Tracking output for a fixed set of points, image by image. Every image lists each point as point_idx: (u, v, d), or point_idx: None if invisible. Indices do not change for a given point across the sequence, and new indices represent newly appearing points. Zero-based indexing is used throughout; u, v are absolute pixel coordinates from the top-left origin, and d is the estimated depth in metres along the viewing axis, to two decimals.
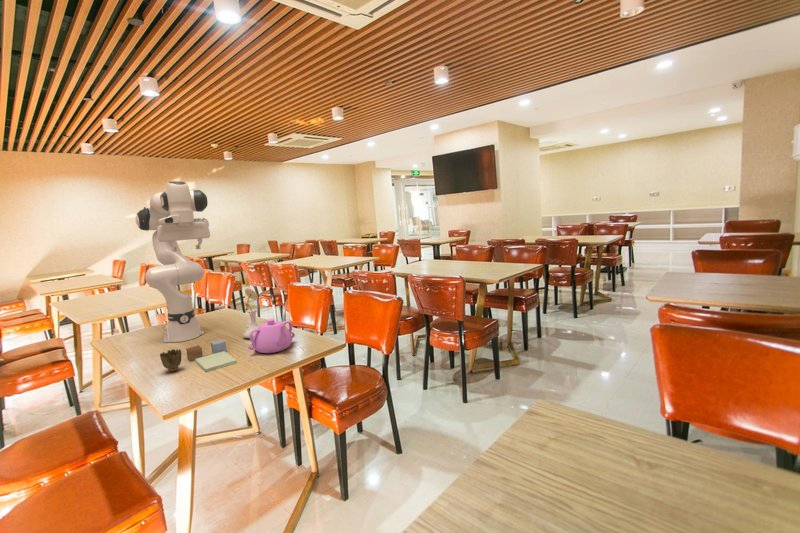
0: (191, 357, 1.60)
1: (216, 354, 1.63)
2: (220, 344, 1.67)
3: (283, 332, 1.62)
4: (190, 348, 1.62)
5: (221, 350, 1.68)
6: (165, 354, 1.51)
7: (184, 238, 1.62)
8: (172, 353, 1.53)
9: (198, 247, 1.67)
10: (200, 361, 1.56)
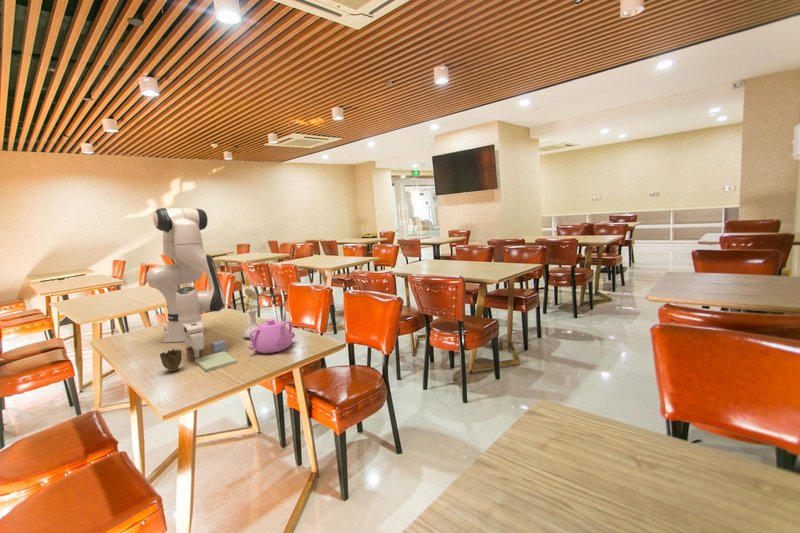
0: (191, 357, 1.60)
1: (216, 354, 1.63)
2: (220, 344, 1.67)
3: (283, 332, 1.62)
4: (190, 348, 1.62)
5: (221, 350, 1.68)
6: (165, 354, 1.51)
7: None
8: (172, 353, 1.53)
9: None
10: (200, 361, 1.56)
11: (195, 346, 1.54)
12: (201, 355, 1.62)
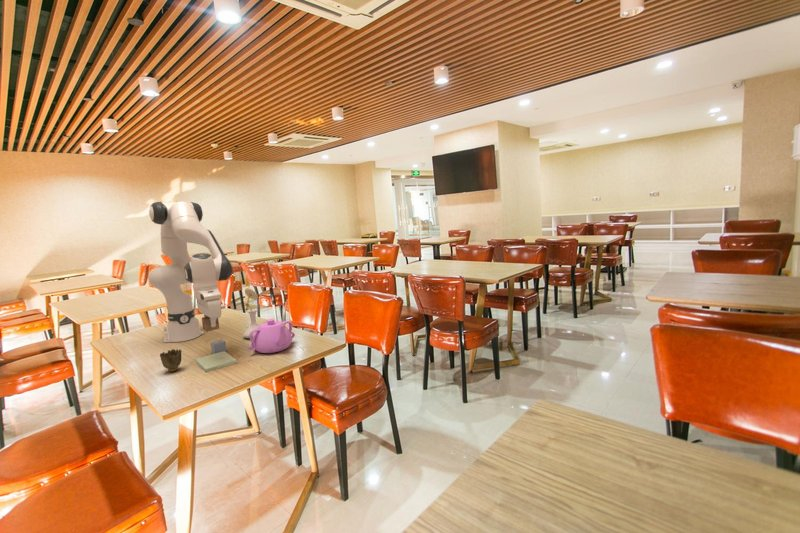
0: (207, 326, 1.52)
1: (216, 354, 1.63)
2: (220, 344, 1.67)
3: (283, 332, 1.62)
4: (206, 317, 1.54)
5: (221, 350, 1.68)
6: (165, 354, 1.51)
7: None
8: (172, 353, 1.53)
9: None
10: (200, 361, 1.56)
11: (212, 314, 1.46)
12: (217, 325, 1.55)
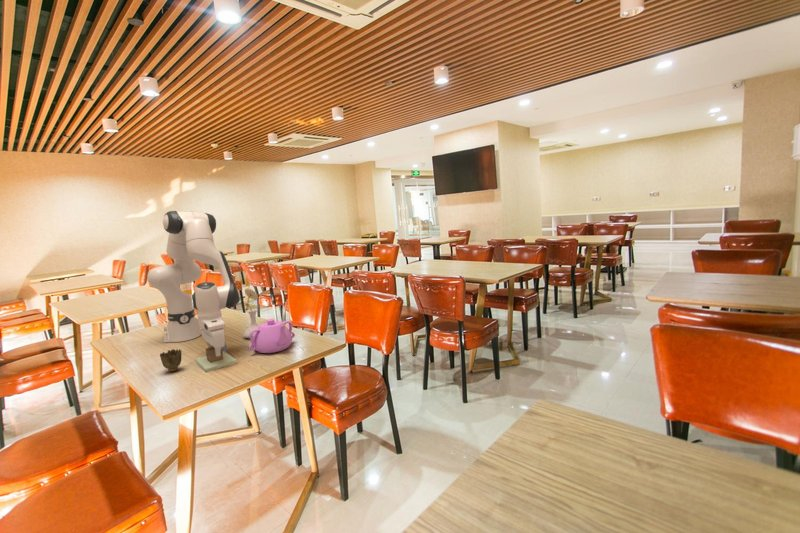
0: (211, 358, 1.54)
1: None
2: None
3: (283, 332, 1.62)
4: (210, 348, 1.56)
5: None
6: (165, 354, 1.51)
7: None
8: (172, 353, 1.53)
9: None
10: (200, 361, 1.56)
11: (216, 344, 1.48)
12: (221, 356, 1.57)
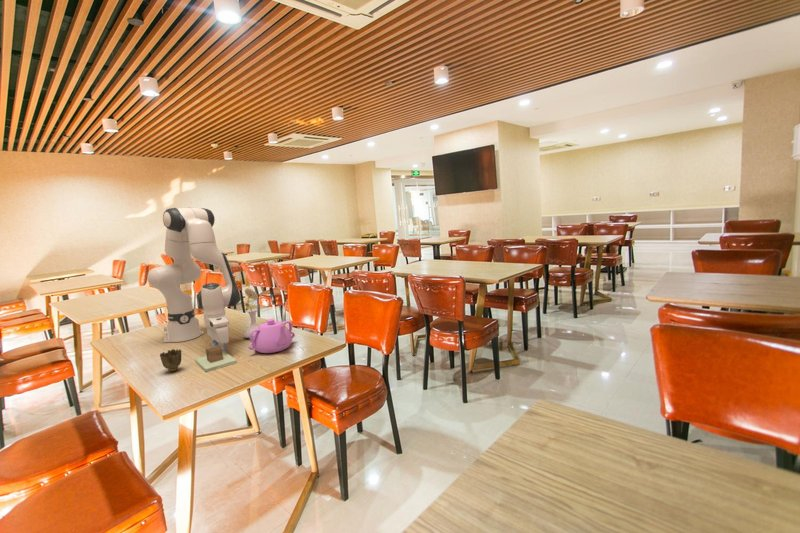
0: (211, 358, 1.54)
1: None
2: None
3: (283, 332, 1.62)
4: (210, 348, 1.56)
5: None
6: (165, 354, 1.51)
7: None
8: (172, 353, 1.53)
9: None
10: (200, 361, 1.56)
11: (220, 340, 1.60)
12: (221, 356, 1.57)
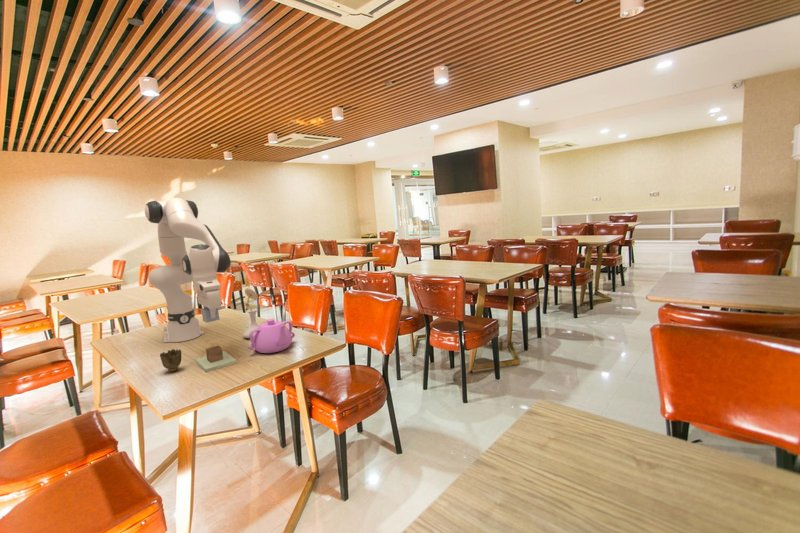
0: (211, 358, 1.54)
1: None
2: None
3: (283, 332, 1.62)
4: (210, 348, 1.56)
5: None
6: (165, 354, 1.51)
7: None
8: (172, 353, 1.53)
9: None
10: (200, 361, 1.56)
11: (212, 304, 1.46)
12: (221, 356, 1.57)
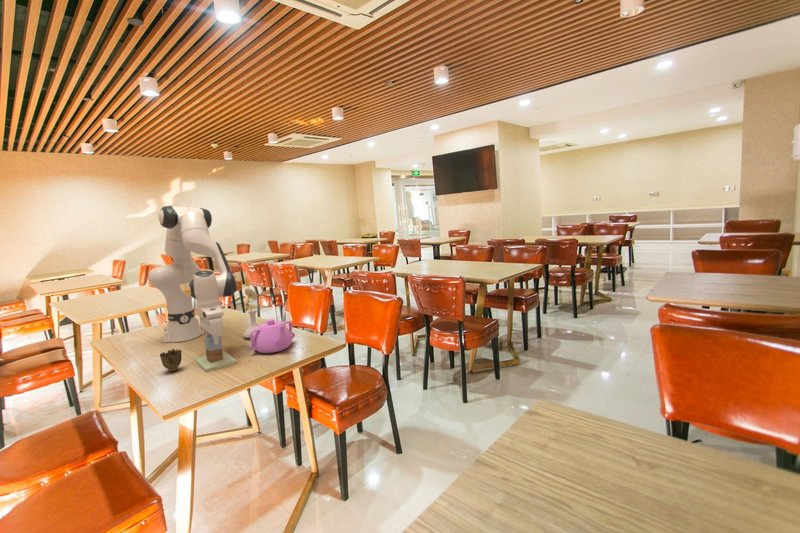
0: (211, 358, 1.54)
1: None
2: None
3: (283, 332, 1.62)
4: None
5: (216, 346, 1.55)
6: (165, 354, 1.51)
7: None
8: (172, 353, 1.53)
9: None
10: (200, 361, 1.56)
11: (214, 331, 1.47)
12: (221, 356, 1.57)
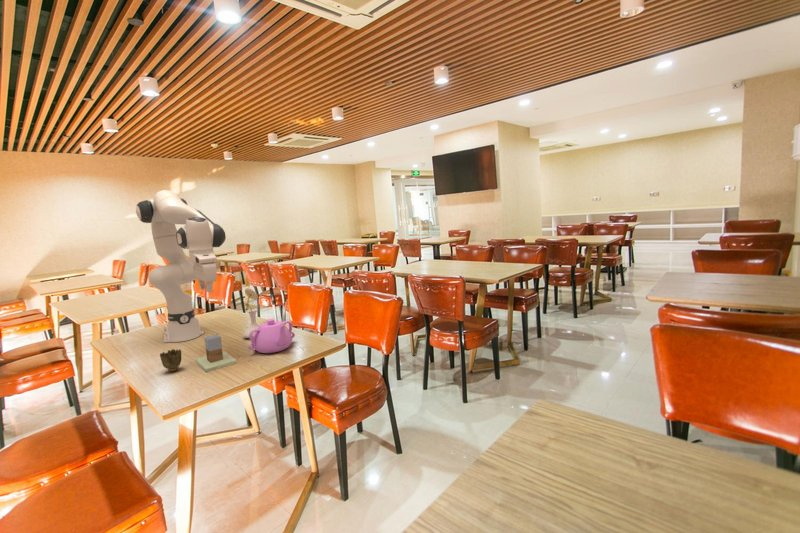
0: (211, 358, 1.54)
1: None
2: (215, 339, 1.54)
3: (283, 332, 1.62)
4: None
5: (216, 346, 1.55)
6: (165, 354, 1.51)
7: None
8: (172, 353, 1.53)
9: None
10: (200, 361, 1.56)
11: (207, 277, 1.44)
12: (221, 356, 1.57)
